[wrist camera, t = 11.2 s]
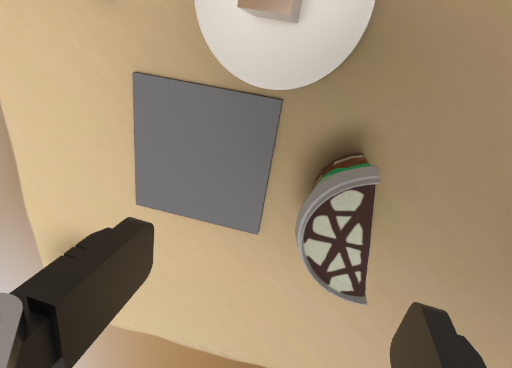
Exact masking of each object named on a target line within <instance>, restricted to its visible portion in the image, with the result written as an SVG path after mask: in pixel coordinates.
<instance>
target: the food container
mask: <svg viewBox="0 0 512 368" xmlns="http://www.w3.org/2000/svg"><path fill="white" fill-rule="evenodd" d="M375 184H380V181H379V174H378V170H377V167H376V166H370V164H369V163H368V161H367V159H366V158H365V156H364V155H363V154H352V155H348V156H345V157H342V158H339V159H336V160H335V161H334V162H332V163H331V164H329V165H328V166H326V167H325V168H324V169H323V170H322V172H321V173H320V174H319V176H318V177H317V178H316V181H315V184H314V187H313V191H312V192H311V193H310V194H309V196H308V197H307V199H306V200H305V201H304V203H303V205H302V207H301V209H300V211H299V214H298V217H297V221H296V231H295V232H296V241H297V245H298V250H299V253H300V257H301V259H302V262H303V264H304V266H305V267H306V269H307V270H308V272H309V273H310V275H311V276H312V278H313V279H314V280H315V281H316V282H317V283H318V284H319V285H320V286H321V287H322V288H324V289H325V290H326V291H328V292H329V293H331V294H333V295H334V296H336V297H338V298H341V299H343V300H345V301H348V302H352V303H355V304H360V305H366V306H367V301H366V294H365V282H366V273H367V264H368V256H369V249H370V238H371V226H372V215H373V205H374V195H375Z"/></svg>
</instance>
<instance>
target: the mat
mask: <svg viewBox="0 0 512 368" xmlns="http://www.w3.org/2000/svg"><path fill="white" fill-rule="evenodd" d="M282 101H283V99H277V98H272V97H267V96H261V95H256V94H250V93H245V92H240V91H234V90H229V89H224V88H218V87H213V86H208V85H202V84H197V83H192V82H186V81H181V80H176V79H170V78H165V77H160V76H154V75H149V74H144V73H138V72H133V108H134V147H135V185H136V205H140V206H144V207H148V208H152V209H156V210H160V211H164V212H168V213H172V214H176V215H180V216H184V217H188V218H192V219H196V220H200V221H204V222H208V223H212V224H216V225H220V226H224V227H228V228H232V229H236V230H240V231H244V232H248V233H252V234H256V235H258V232H259V227H260V222H261V216H262V211H263V205H264V200H265V194H266V189H267V183H268V178H269V172H270V167H271V161H272V156H273V150H274V145H275V139H276V134H277V128H278V123H279V117H280V112H281V106H282Z"/></svg>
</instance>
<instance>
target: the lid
mask: <svg viewBox="0 0 512 368" xmlns="http://www.w3.org/2000/svg"><path fill="white" fill-rule="evenodd" d="M374 3H375V0H195V9H196V14H197V19H198V22H199V25H200V28H201V32H202V34H203V36H204V38H205V41H206V43H207V45H208V46H209V48H210V50H211V51H212V53H213V54H214V56H215V57H216V58H217V59H218V61H219V62H220V63H221V64H222V65H223V66H224V67H225V68H226V69H227V70H228V71H229V72H231V73H232V74H233V75H234V76H236V77H237V78H239V79H241V80H242V81H244V82H246V83H249V84H251V85H253V86H256V87H260V88H264V89H271V90H288V89H295V88H299V87H303V86H306V85H309V84H311V83H313V82H316V81H318V80H320V79H321V78H323V77H324V76H326V75H328V74H329V73H330V72H332V71H333V70H334V69H335V68H337V67H338V66H339V65H340V64H341V63H342V62H343V61H344V60H345V59H346V58H347V57H348V56H349V54H350V53H351V52H352V51H353V49H354V48H355V47H356V45H357V43H358V42H359V40H360V39H361V37H362V35H363V33H364V31H365V29H366V27H367V25H368V23H369V20H370V17H371V14H372V11H373V8H374Z"/></svg>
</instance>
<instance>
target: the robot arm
mask: <svg viewBox="0 0 512 368" xmlns="http://www.w3.org/2000/svg"><path fill="white" fill-rule="evenodd" d="M153 245H154V226H153V224H152V223H149V222H145V221H142V220H139V219H135V218H132V217H128V218H126V219H124V220H123V221H122V222H120V223H119V224H118V225H117V226H115V227H114V228H113V229H111V228H105V229H103V230H100V231H98V232H95V233H93V234H90V235H89V236H87V237H86V238H85V239H83V240H82V241H81V242H79V243H78V244H76V247H72V248H71V249H70V250H68V251H67V252H66V253H64V255H63V256H60V257H59V258H57V259H56V260H55V261H53V262H52V263H50V264H49V265H48V266H46V267H45V268H44V269H42V270H41V271H39V272H38V273H37V274H35V275H34V276H33V277H32V278H30V279H29V280H27V281H26V282H24V283H23V284H22V285H21V286H19V287H18V288H16V289H15V290H14V291H12V292H11V293H9V294H7V293H0V368H72V367H73V366H74V365H75V364H76V362H77V361H78V360H79V359H80V358H81V356H82V355H83V354H84V353H85V352H86V350H87V349H88V348H89V347H90V346H91V345H92V343H93V342H94V341H95V340H96V339H97V337H98V336H99V335H100V334H101V333H102V331H103V330H104V329H105V328H106V327H107V325H108V324H109V323H110V322H111V321H112V320H113V318H114V317H115V316H116V315H117V314H118V312H119V311H120V310H121V309H122V308H123V306H124V305H125V304H126V303H127V302H128V300H129V299H130V298H131V297H132V296H133V295H134V293H135V292H136V291H137V290H138V289H139V287H140V286H141V285H142V284H143V283H144V281H145V280H146V279H147V277H148V275H149V273H150V271H151V268H152V264H153ZM390 362H391V368H487V367H486V365H485V363H484V361H483V359H482V357H481V356H480V355H479V354H478V352H477V351H476V350H475V349H474V348H473V346H472V345H471V344H470V343H469V342H468V341H467V339H466V338H465V337H464V336H461V335H457V333H456V331H455V328H454V326H453V324H452V322H451V319H450V317H449V315H448V314H447V312H446V311H444V310H441V309H438V308H434V307H431V306H428V305H424V304H421V303H418V302H414V303H412V304H411V306H410V307H409V309H408V311H407V313H406V315H405V316H404V318H403V320H402V322H401V324H400V326H399V328H398V330H397V331H396V333H395V335H394V337H393V339H392V342H391V347H390Z"/></svg>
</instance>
